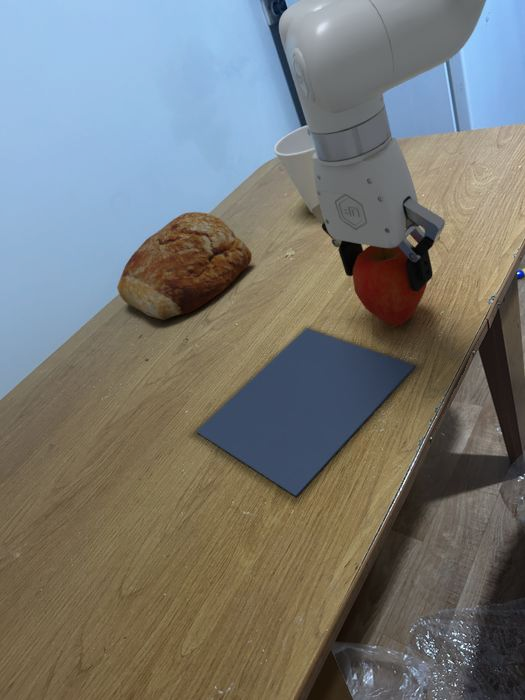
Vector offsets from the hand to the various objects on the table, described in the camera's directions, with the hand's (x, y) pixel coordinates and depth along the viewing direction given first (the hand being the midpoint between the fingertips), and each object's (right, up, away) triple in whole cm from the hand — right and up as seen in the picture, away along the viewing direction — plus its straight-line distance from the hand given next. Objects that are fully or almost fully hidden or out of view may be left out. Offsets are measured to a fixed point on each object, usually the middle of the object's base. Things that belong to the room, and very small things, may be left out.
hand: (388, 276), depth 67 cm
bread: (-28, +2, +30) cm, 41 cm away
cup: (-3, +17, +35) cm, 39 cm away
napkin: (-10, -14, -1) cm, 17 cm away
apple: (+2, -5, +4) cm, 7 cm away
